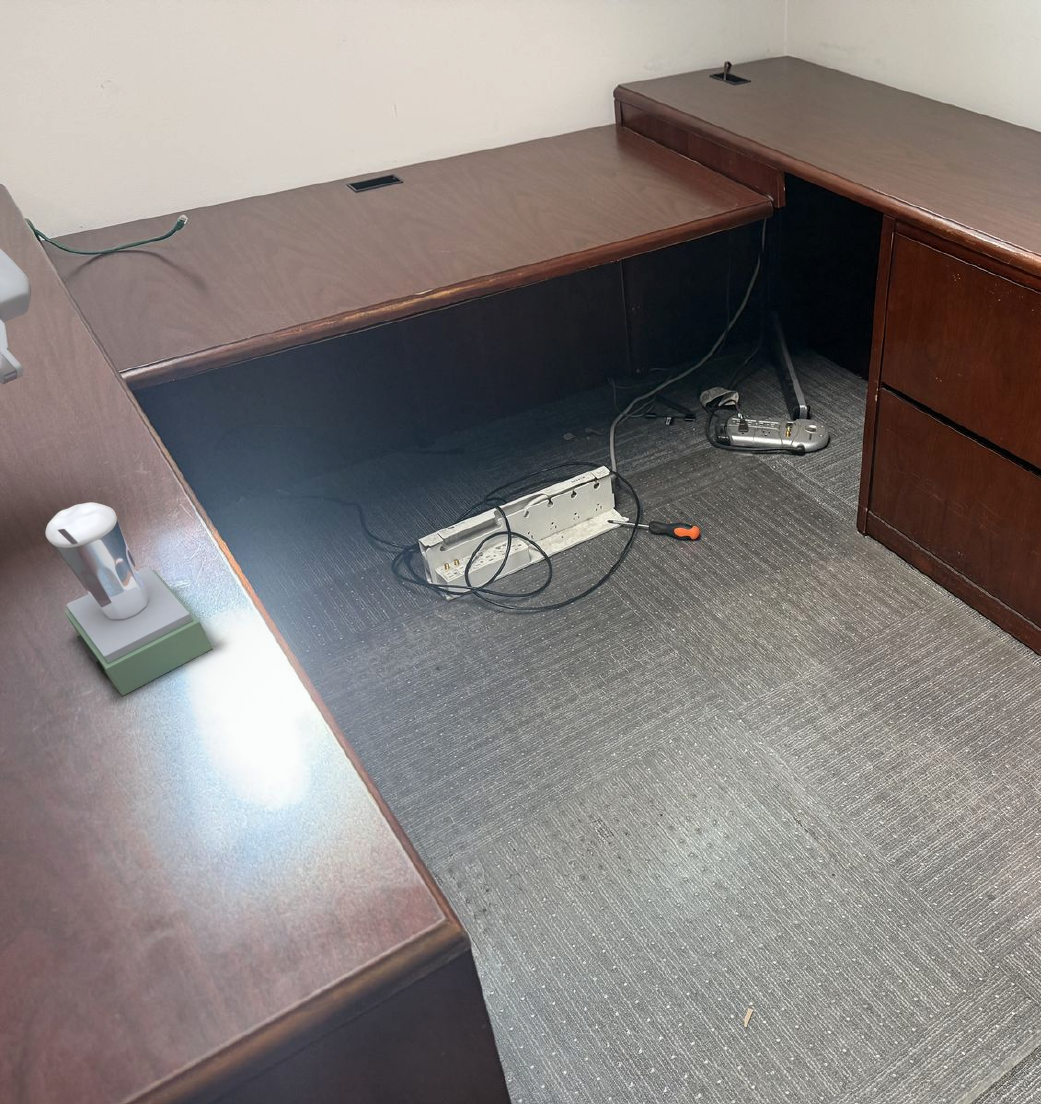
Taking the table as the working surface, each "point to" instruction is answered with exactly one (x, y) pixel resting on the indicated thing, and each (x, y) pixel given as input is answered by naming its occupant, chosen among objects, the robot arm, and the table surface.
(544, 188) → the table surface
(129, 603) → the milkshake
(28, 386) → the table surface
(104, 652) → the scale
